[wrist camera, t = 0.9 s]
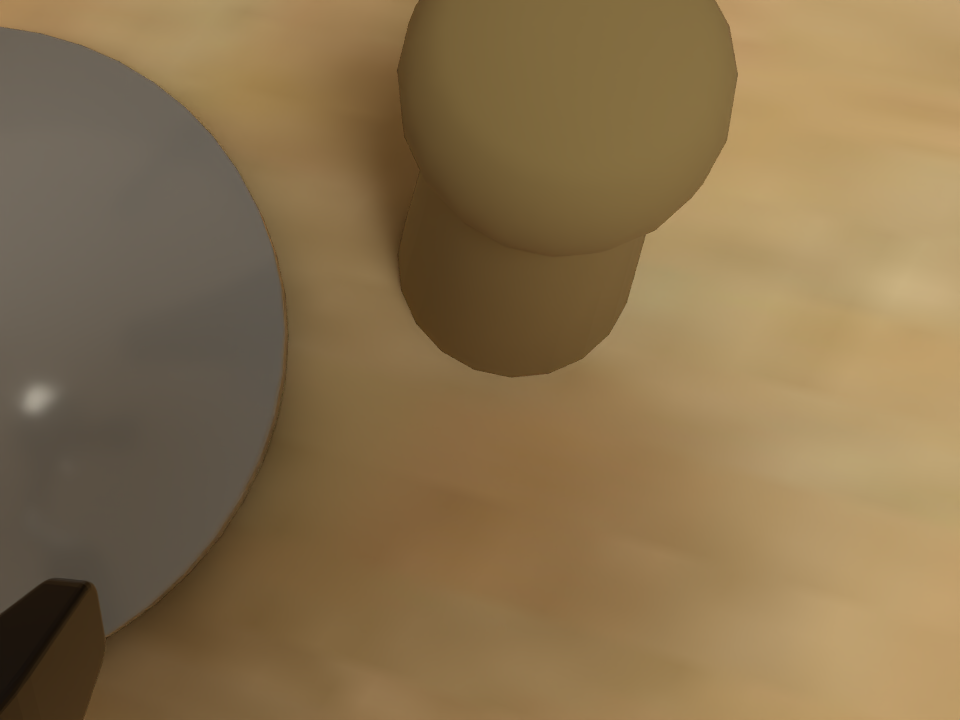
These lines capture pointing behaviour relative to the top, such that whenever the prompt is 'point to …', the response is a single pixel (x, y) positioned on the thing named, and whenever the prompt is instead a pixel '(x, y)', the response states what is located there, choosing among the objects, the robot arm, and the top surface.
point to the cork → (550, 163)
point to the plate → (124, 330)
